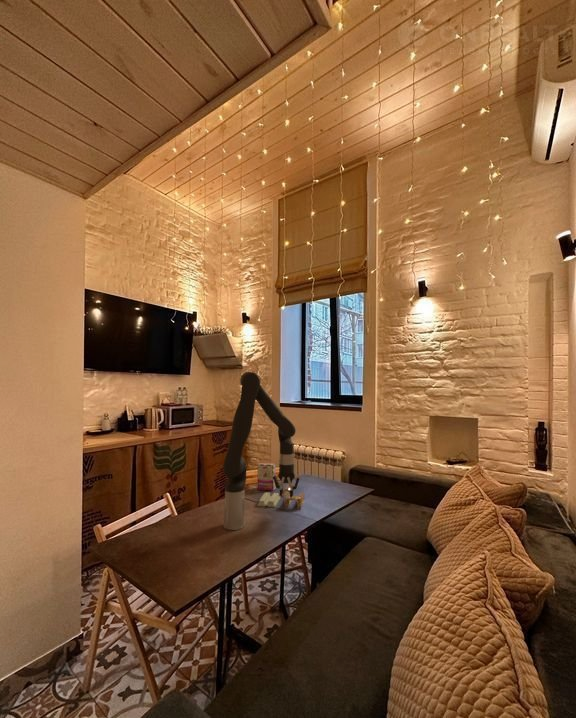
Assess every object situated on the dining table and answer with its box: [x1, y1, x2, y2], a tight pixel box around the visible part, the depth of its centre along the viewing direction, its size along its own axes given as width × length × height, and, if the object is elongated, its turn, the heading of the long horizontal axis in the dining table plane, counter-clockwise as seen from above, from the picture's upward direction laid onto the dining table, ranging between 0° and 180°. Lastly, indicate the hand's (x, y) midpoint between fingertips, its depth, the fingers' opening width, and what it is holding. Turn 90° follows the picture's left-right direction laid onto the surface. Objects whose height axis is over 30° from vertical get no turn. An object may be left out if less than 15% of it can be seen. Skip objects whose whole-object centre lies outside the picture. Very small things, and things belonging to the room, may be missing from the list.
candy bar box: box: [257, 462, 277, 492], centre depth 214 cm, size 11×5×16 cm, turn 73°
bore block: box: [283, 492, 305, 510], centre depth 188 cm, size 9×16×6 cm, turn 170°
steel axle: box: [281, 483, 290, 500], centre depth 169 cm, size 14×4×4 cm, turn 170°
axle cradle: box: [257, 492, 281, 508], centre depth 190 cm, size 10×14×3 cm
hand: (286, 497), depth 165 cm, fingers closed on steel axle, 4 cm apart
